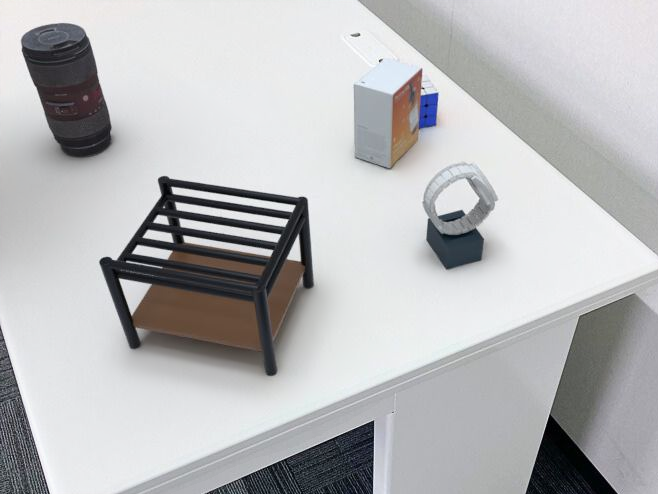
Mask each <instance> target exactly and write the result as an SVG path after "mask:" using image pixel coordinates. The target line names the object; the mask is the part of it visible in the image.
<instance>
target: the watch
mask: <svg viewBox="0 0 658 494" xmlns="http://www.w3.org/2000/svg"><path fill="white" fill-rule="evenodd" d="M464 179H466V181H467V183H468V184H469V186H470V187H471V189H472V190H473V191H474V193H475V195H476V196H477V197H478V198H479V199H478V202H476V204H475V205H474V207H473V208H472V209H470V211H469V212H467V214H466V213H465V211H464V210H463V209H459V210H455V211H452V212H448V213H445V214H441V215H438V213H437V210H436V204H435V202H436V201H437V199H438V197H439V195H441V193H442V192H444V190H446V189H447V188H448V187H449V186H450V185H452V184H454V183H455V182H458V181H460V180H461V181H462V180H464ZM422 199H423V201H422V202H421V203H422V207H423V209H424V211H425V214H426V215H427V217H428V218H427V223H426V224H427V225H426V237H425V238H426V239H425V240H426V242H427V243H428V245H429V246H430V248H431V249H432V251H433V252H434V253H435V255H436V256H437V258H438V260H439V261H440V262H441V264H442V265H443V267H444V268H445V270H449V269H454V268H457V267H461V266H465V265H469V264H473V263H476V262H479V261H482V256H483V251H484V243H485V238H484V236H483V235H482V233H481V232H480V231H479V230H478V228H477V227H479V226H480V225H482V223H483V222H484V221H486V219H487V218H488V217H489V216H490V214H491V212H492V211H494V210H495V207H496V202H497V201H499V198H498V195H497V193H496V191H495V189H494V188H493V185H492V184H491V183H490V182H489V180H488V179H487V177H486V176H485V174H484V173H483V172H482V171H481V168H479V167H478V166H477V165H476V164H475V163H474V162H473V161H472V162H470V163H467V162H466V161H461V162H458V163H453V164H450V165H449V166H446V167H444V168H442V169H441V170H440V171H438V172H437V173H436V174H434V176H433V177H432V179H431V180H430V181H429V182H428V184H427V186H426V188H425V190H424V193H423V198H422Z"/></svg>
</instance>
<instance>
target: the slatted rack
mask: <svg viewBox="0 0 658 494" xmlns="http://www.w3.org/2000/svg"><path fill="white" fill-rule="evenodd" d="M157 184H158V187H159V191H160V195H161V196H160V197H159V198H158V200H157V201H156V203H155V204H154V206H153V207H152V208H151V210H150V211H149V213H148V214H147V216H145V218H144V220H143V222H142V223H141V224H140V226H139V227H138V228H137V229H136V232H135V233H134V234H133V235H132V237H131V239H130V240H129V242H128V243H126V245H125V247H124V249H123V250H122V252H121V253H120V254H119V256H118V257H117V258H116V259H113V258H112V257H111V256H103V257H101V258H100V259H99V261H98V263H99V267H100V269H101V272H102V275H103V278H104V281H105V283H106V286H107V289H108V292H109V294H110V297H111V300H112V303H113V305H114V308H115V310H116V313H117V317H118V318H119V321H120V324H121V327H122V331H123V333H124V335H125V336H124V337H125V338H126V341H127V344H128V346H129V348H130V349H138V348H139V347H140V346H141V344H142V343H141V339H140V337H139V333H138V330H137V329H141V330H145V331H146V330H147V331H151V332H156V333H162V334H167V335H173V336H178V337H183V338H189V339H194V340H199V341H204V342H210V343H213V344H214V343H215V344H220V345H224V346H229V347H230V346H231V347H236V348H241V349H246V350H252V351H257V352H262V353H261V355H262V361H263V367H264V372H265V374H266V375H267V376H275V375H276V374H277V373H278V366H277V359H276V351H275V350H276V349H275V343H274V341H275V339H276V337H277V334H278V332H279V330H280V328H281V325H282V323H283V321H284V319H285V316H286V314H287V311H288V310H289V308H290V305H291V303H292V301H293V299H294V296H295V295H296V294H295V293H296V292H297V289H298V288H299V285H300V283H301V280H302V286H303V287H304V288H306V289H311V288H313V287H314V285H315V283H314V280H315V279H314V268H313V254H312V252H313V251H312V240H311V225H310V210H309V199H308V198H307V197H306V196H298V197H297V196H290V195H283V194H277V193H269V192H263V191H257V190H249V189H245V188H244V189H243V188H236V187H229V186H228V187H227V186H222V185H218V184H217V185H216V184H210V183H202V182H195V181H191V180H190V181H189V180H183V179H176V178H171V177H169V176H167V175H162V176H159V177H158V178H157ZM173 188H178V189H185V190H191V191H196V192H204V193H208V194H209V193H210V194H216V195H222V196H229V197H230V196H231V197H235V198H243V199H250V200H258V201H262V202H270V203H276V204H283V205H288V206H289V205H290V206H294V208H293V210H292V211H289V210H288V211H286V210H280V209H274V208H267V207H261V206H255V205H249V204H242V203H235V202H229V201H222V200H217V199H216V200H215V199H209V198H202V197H196V196H189V195H182V194H177V193H174V192H173ZM176 203H178V204H185V205H190V206H199V207H203V208H211V209H217V210H224V211H231V212H237V213H242V214H249V215H254V216H255V215H257V216H261V217H269V218H275V219H282V220H287V222H286V224H285V226H281V225H275V224H268V223H263V222H256V221H250V220H249V221H248V220H243V219H236V218H230V217H225V216H217V215H210V214H204V213H199V212H192V211H186V210H180V209H178V208H177V204H176ZM158 216H162V217H166V219H167V223H168V224H165V223H161V222H159V223H158V222H155V221H156V219H157V217H158ZM181 220H186V221H193V222H198V223H206V224H212V225H218V226H225V227H230V228H237V229H243V230H250V231H256V232H262V233H268V234H273V235H280V237H279V238H278V240H277V241H270V240H264V239H259V238H254V237H253V238H251V237H246V236H239V235H234V234H228V233H227V234H226V233H221V232H216V231H208V230H203V229H197V228H190V227H184V226H182V224H181ZM148 231H153V232H160V233H166V234H171V239H172V242H171V241H165V240H160V239H153V238H147V237H144V236H145V235H146V234H147V232H148ZM185 237H189V238H195V239H201V240H208V241H214V242H215V241H216V242H219V243H225V244H226V243H227V244H232V245H239V246H243V247H245V246H246V247H250V248H251V247H252V248H257V249H262V250H269V251H272V252H271V254H270V256H269V255H264V254H259V253H252V252H247V251H246V252H245V251H241V250H240V251H239V250H233V249H227V248H222V247H215V246H211V245H210V246H209V245H204V244H197V243H191V242H185ZM297 238H298V244H299V254H300V255H299V256H300V261H299V260H296V259H295V260H294V259H288V257H289V255H290V253H291V251H292V248H293V247H294V244H295V242H296V240H297ZM138 246H140V247H147V248H153V249H158V250H164V251H171V252H170V255H168V258H161V257H155V256H149V255H143V254H138V253H133V252H134V251H135V250H136V248H137V247H138ZM120 280H126V281H130V282H131V281H132V282H136V283H137V282H138V283H142V284H147V285H150V286H149V288H148V290H147V291H146V293H145V294H144V296H143V297H142V299H141V300H140V302H139V304H138V305H137V307H136V308H135V310H134V312H133V313H131V309H130V307H129V304H128V301H127V298H126V295H125V292H124V290H123V286H122V284H121V283H122V282H121V281H120Z"/></svg>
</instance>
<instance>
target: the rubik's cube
mask: <svg viewBox="0 0 658 494" xmlns="http://www.w3.org/2000/svg"><path fill="white" fill-rule="evenodd" d="M438 105H439V91H438V90H437V88H436V87H435V85H434V84H433V83H432V81H431V79H430V78H429V77H428V76H427V75H426V74H422V84H421V99H420V114H419V128H418V129H423V128H428V127H434V126H435V127H436V126H437V117H438V108H439V107H438Z"/></svg>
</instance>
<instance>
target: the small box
mask: <svg viewBox="0 0 658 494" xmlns="http://www.w3.org/2000/svg"><path fill="white" fill-rule="evenodd" d="M422 76H423V67H421V66H418V65H414V64H411V63H408V62H405V61H400V60H397V59H394V58H390V57H384V58H383V59H382V60H381V61H380V62H379V63H378V64H376V65H375V66H374V67H373V68H372V69H370V70H369V71H368V72H367V73H366V74H365V75H363V76H362V77H361V78H360V79H358V80H357V81H355V82H354V83H353V142H354V143H353V147H354V150H353V151H354V157H355V158H357V159H360V160H362V161H366V162H368V163H372V164H375V165H378V166H381V167H384V168H387V169H392V168H393V166H394V165H395V164H396V163H397V162H398V161H399V160H400V159H401V158H402V157H403V156H404V155H405V153H407V152H408V151H409V150H410V149H411V148H412V147H413V146H414V145H415V144H416V143H417V142H418V140H419V129H420V128H419V114H420V99H421V84H422Z"/></svg>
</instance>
